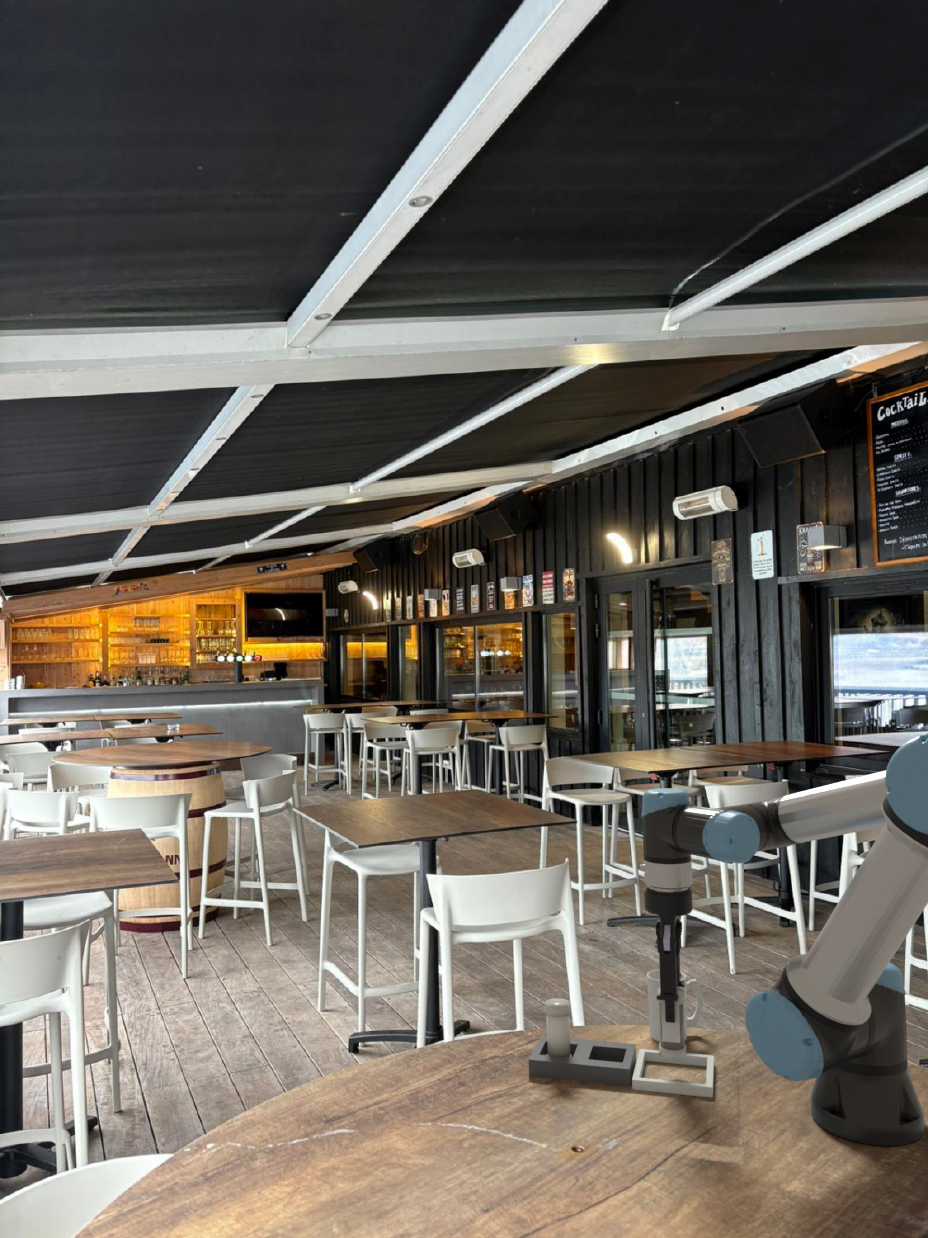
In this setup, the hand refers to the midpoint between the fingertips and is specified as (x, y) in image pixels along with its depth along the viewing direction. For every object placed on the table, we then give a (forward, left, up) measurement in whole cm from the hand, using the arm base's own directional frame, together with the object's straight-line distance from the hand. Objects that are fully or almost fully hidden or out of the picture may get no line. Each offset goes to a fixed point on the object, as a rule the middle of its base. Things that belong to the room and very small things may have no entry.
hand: (672, 1035), depth 147 cm
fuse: (+18, 0, -6) cm, 19 cm away
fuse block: (+14, 0, -8) cm, 16 cm away
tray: (0, 0, -8) cm, 8 cm away
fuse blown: (0, 0, -3) cm, 3 cm away
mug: (0, -17, -8) cm, 19 cm away
